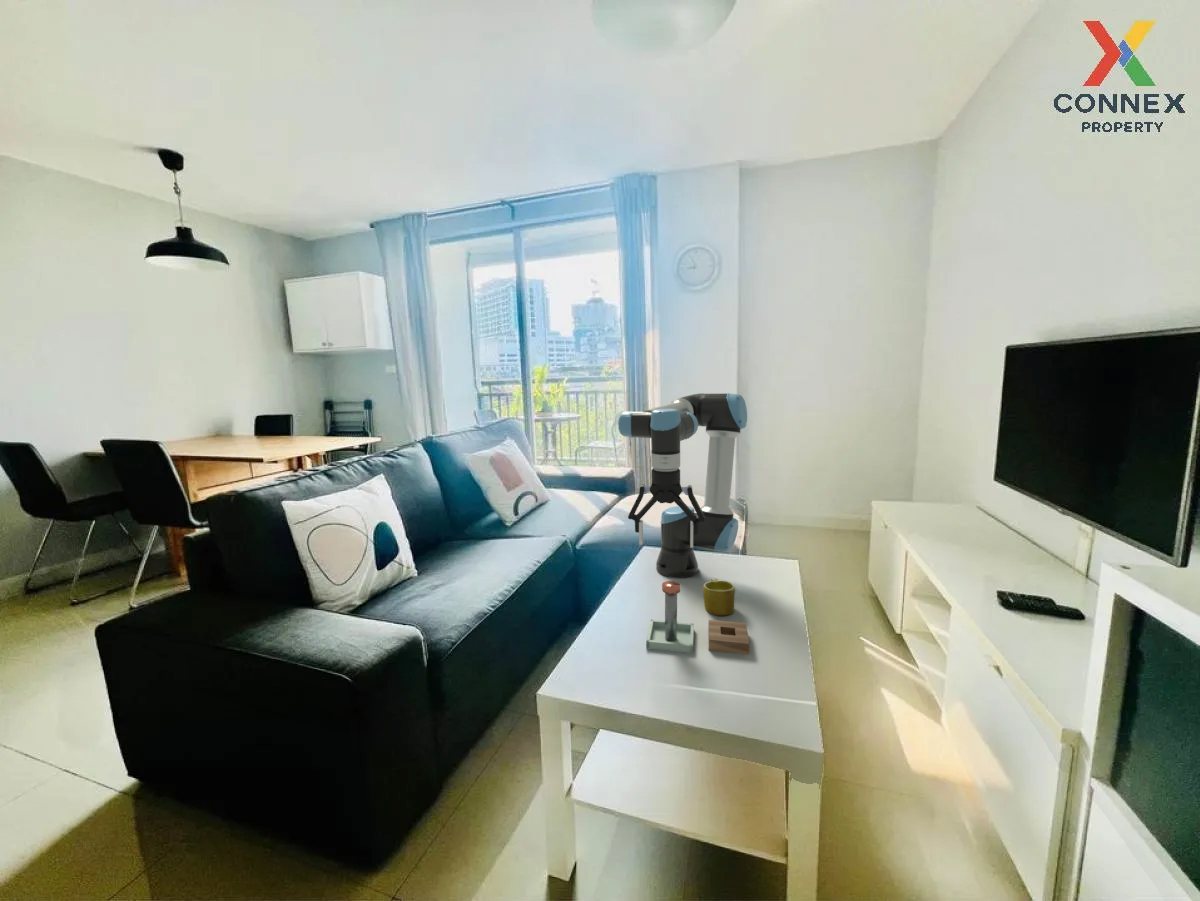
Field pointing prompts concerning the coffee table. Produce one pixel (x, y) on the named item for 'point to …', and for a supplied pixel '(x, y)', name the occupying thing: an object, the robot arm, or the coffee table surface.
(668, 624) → the pin
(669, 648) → the tray
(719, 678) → the coffee table surface
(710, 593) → the mug
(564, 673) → the coffee table surface
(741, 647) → the socket block
